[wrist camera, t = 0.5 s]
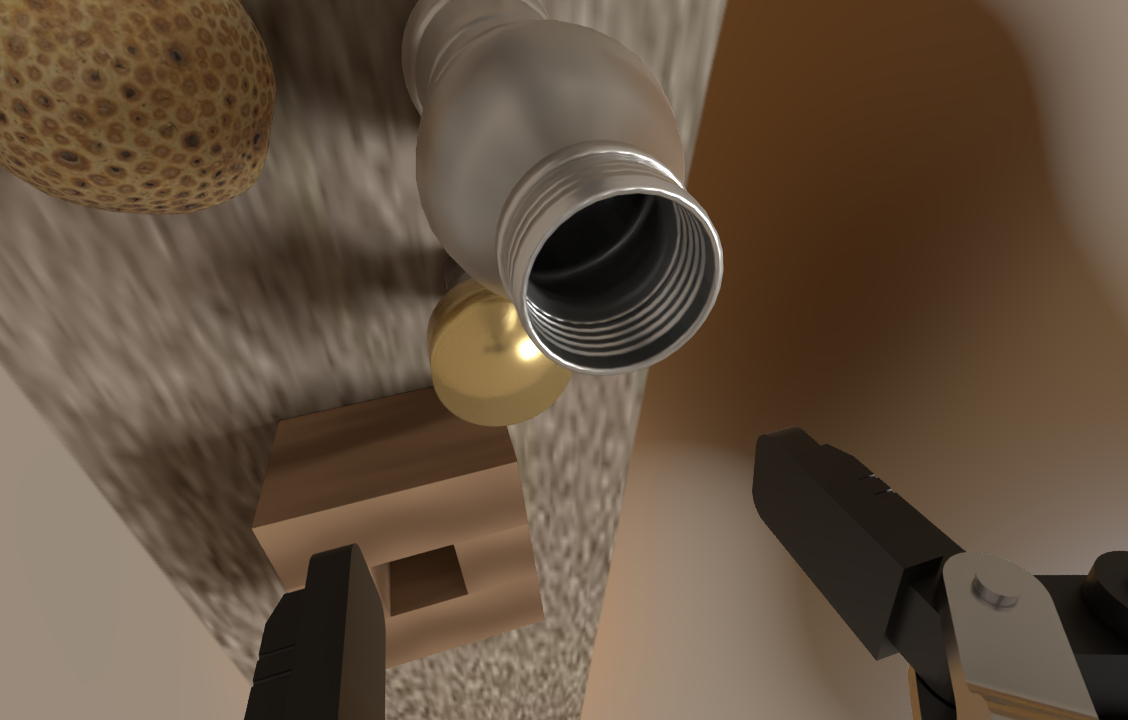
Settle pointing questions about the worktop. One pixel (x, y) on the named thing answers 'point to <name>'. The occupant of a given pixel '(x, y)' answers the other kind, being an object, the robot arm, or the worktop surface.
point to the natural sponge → (134, 101)
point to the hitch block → (406, 517)
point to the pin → (487, 356)
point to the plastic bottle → (559, 181)
